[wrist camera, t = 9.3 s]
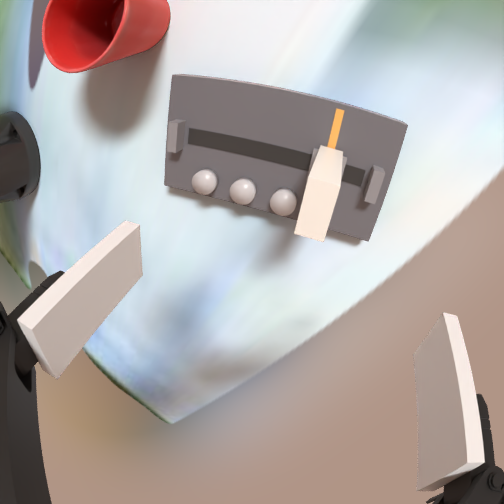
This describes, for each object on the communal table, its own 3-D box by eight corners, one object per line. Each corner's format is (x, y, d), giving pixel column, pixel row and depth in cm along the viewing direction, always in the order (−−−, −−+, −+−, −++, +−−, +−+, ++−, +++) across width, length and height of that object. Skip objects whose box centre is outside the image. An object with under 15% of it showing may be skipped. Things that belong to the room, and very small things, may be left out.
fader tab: (305, 183, 29) (286, 231, 21) (315, 142, 26) (300, 174, 19) (337, 192, 28) (330, 244, 20) (348, 152, 26) (348, 188, 18)
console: (173, 179, 35) (156, 190, 32) (182, 74, 28) (163, 75, 25) (367, 232, 32) (368, 249, 29) (404, 122, 25) (411, 128, 22)
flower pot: (168, 74, 28) (108, 82, 20) (95, 58, 29) (33, 67, 21) (198, -16, 22) (143, -39, 14) (118, -22, 23) (56, -32, 15)
